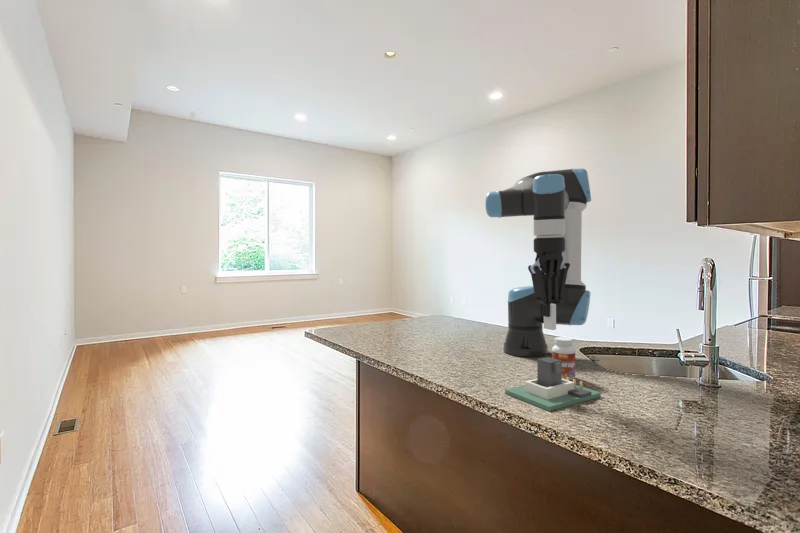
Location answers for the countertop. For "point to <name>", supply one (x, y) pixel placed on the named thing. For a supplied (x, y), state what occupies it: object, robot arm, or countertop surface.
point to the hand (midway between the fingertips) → (549, 328)
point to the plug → (549, 372)
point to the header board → (552, 394)
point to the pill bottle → (565, 356)
